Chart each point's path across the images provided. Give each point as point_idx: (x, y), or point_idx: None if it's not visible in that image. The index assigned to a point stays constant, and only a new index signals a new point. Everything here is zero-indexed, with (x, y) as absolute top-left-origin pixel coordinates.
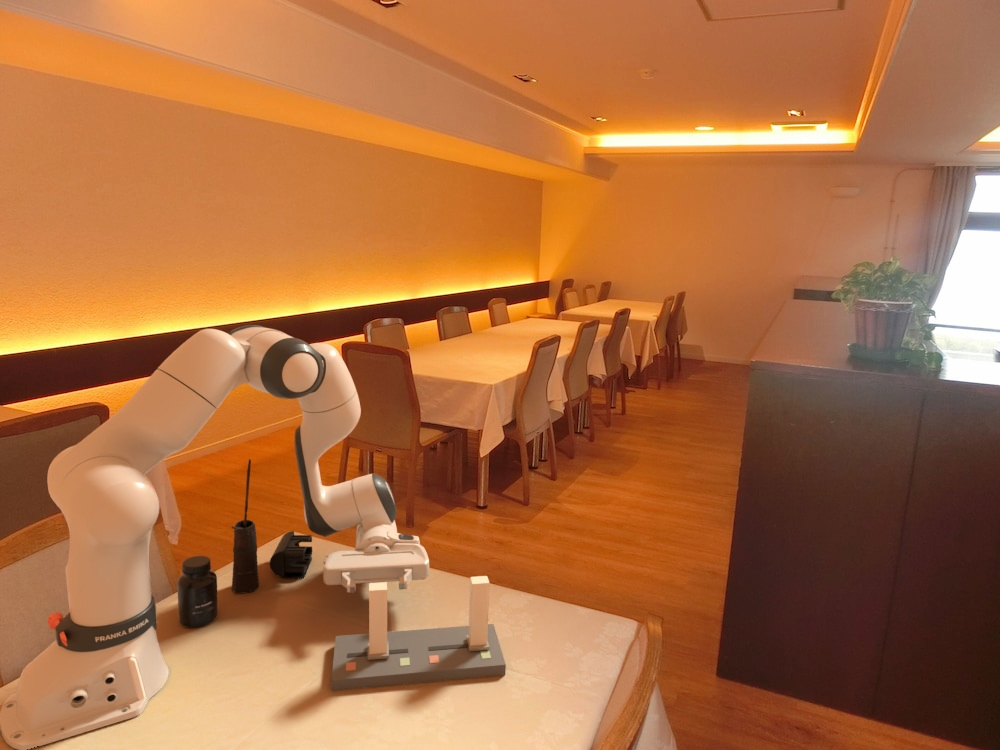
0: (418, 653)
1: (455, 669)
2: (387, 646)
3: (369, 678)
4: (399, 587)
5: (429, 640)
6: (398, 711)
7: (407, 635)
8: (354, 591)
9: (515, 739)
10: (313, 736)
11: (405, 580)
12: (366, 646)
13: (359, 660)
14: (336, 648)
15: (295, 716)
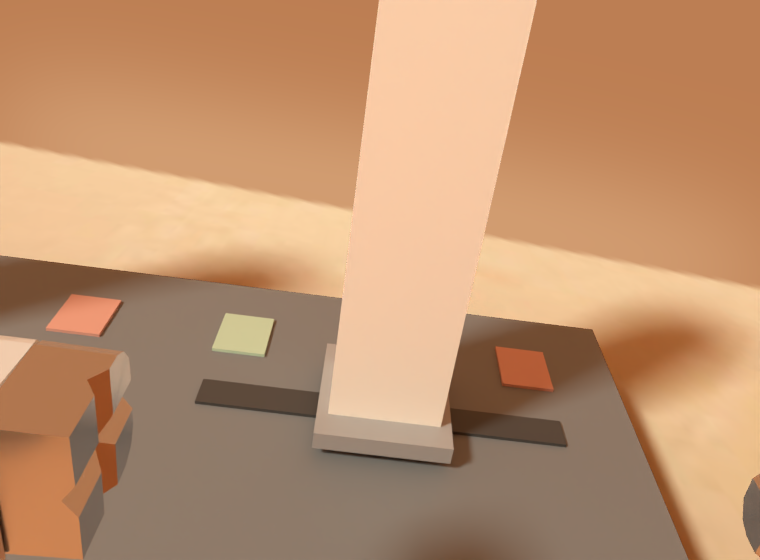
0: (147, 365)
1: (21, 260)
2: (326, 399)
3: None
4: (128, 409)
5: None
6: (312, 261)
7: (147, 516)
8: (755, 497)
9: (9, 147)
10: (575, 261)
11: (14, 338)
12: (457, 478)
13: (485, 392)
14: (652, 503)
15: (666, 319)
